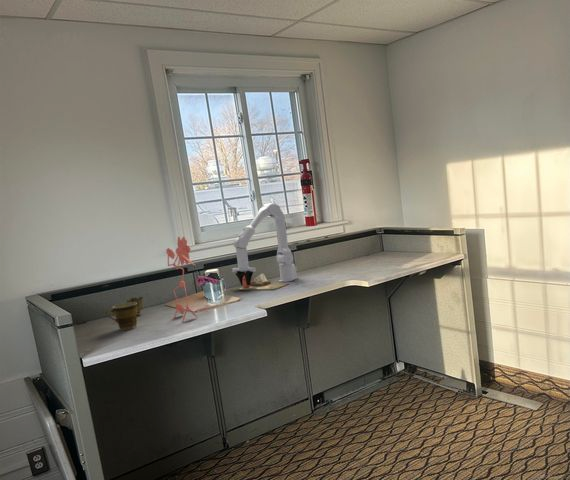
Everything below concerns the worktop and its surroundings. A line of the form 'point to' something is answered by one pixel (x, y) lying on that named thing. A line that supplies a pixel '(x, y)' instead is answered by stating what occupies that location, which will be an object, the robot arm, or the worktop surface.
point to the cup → (139, 304)
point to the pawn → (244, 283)
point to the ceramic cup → (125, 315)
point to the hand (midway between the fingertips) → (245, 285)
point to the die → (260, 279)
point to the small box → (212, 272)
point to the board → (263, 286)
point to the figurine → (183, 256)
